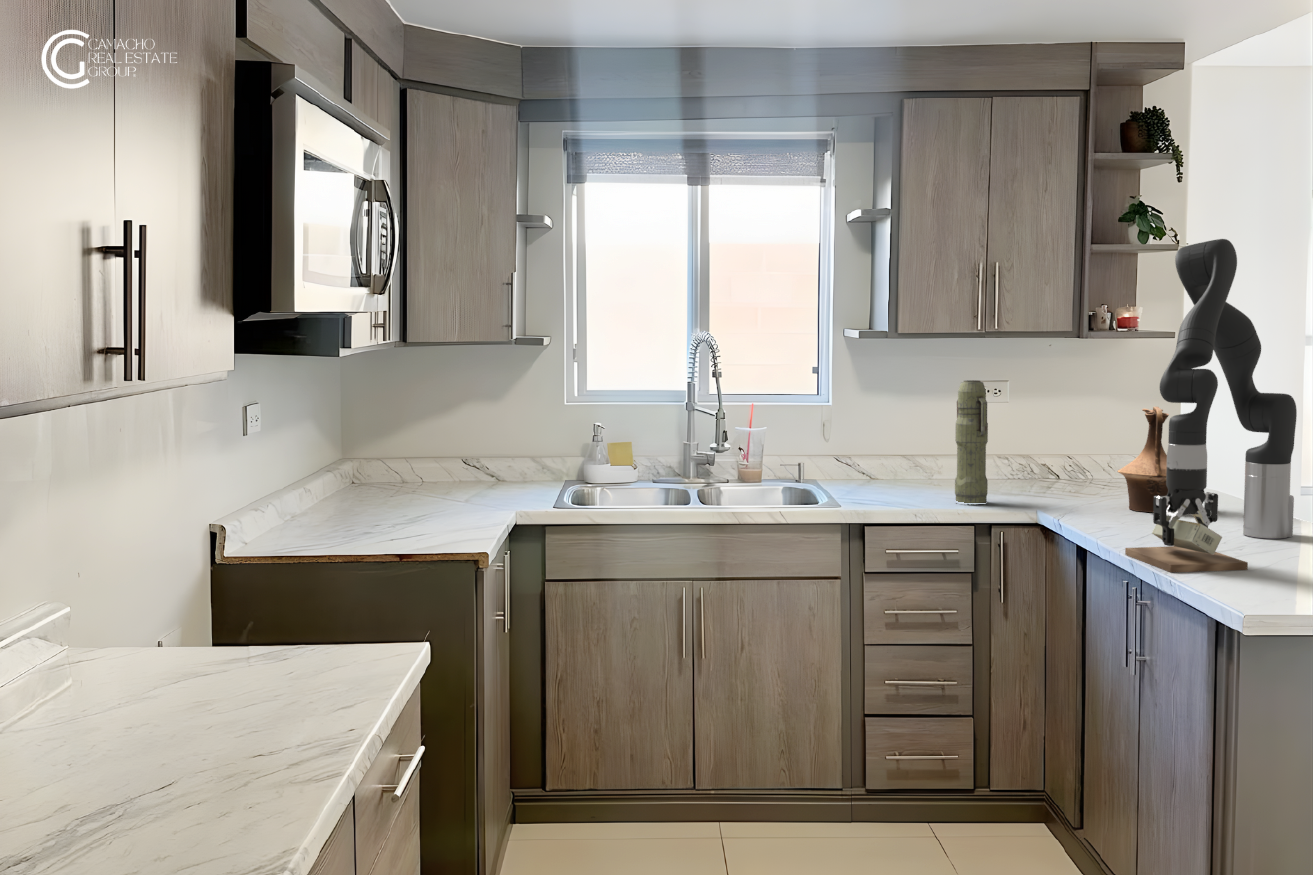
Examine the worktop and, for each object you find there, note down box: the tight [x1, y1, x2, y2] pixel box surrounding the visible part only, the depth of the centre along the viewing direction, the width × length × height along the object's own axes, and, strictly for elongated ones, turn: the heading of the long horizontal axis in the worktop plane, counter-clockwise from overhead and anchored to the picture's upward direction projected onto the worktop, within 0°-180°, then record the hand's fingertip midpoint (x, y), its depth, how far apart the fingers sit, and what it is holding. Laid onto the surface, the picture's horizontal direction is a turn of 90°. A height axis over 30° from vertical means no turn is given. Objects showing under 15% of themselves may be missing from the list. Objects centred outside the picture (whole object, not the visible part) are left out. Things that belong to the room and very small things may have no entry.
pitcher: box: [1117, 406, 1170, 513], centre depth 290 cm, size 18×17×28 cm
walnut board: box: [1124, 546, 1249, 573], centre depth 225 cm, size 16×18×2 cm
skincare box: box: [1151, 519, 1223, 555], centre depth 224 cm, size 6×4×12 cm
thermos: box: [954, 380, 989, 503], centre depth 308 cm, size 9×12×35 cm
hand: (1184, 543), depth 224 cm, fingers closed on skincare box, 7 cm apart
